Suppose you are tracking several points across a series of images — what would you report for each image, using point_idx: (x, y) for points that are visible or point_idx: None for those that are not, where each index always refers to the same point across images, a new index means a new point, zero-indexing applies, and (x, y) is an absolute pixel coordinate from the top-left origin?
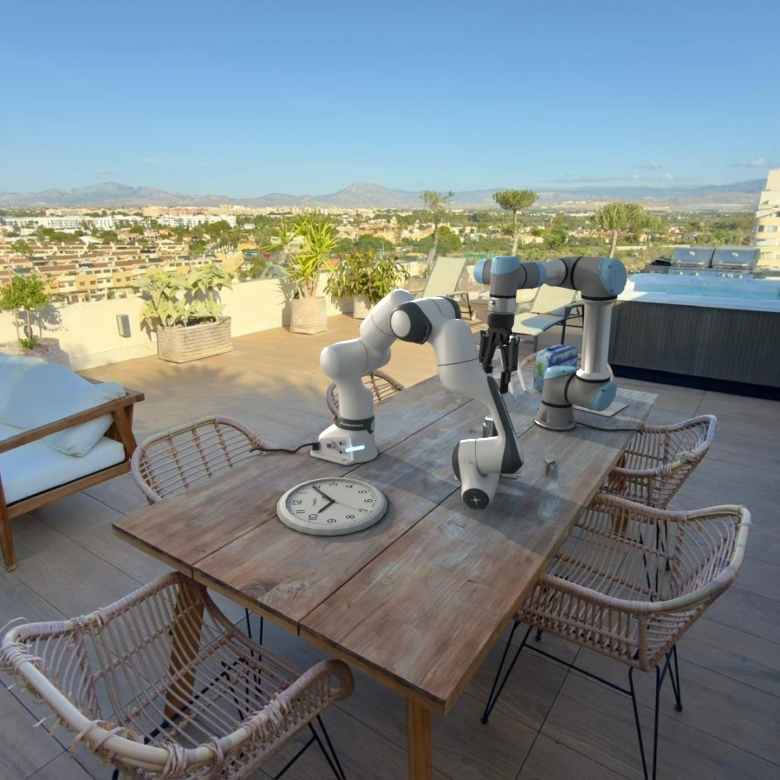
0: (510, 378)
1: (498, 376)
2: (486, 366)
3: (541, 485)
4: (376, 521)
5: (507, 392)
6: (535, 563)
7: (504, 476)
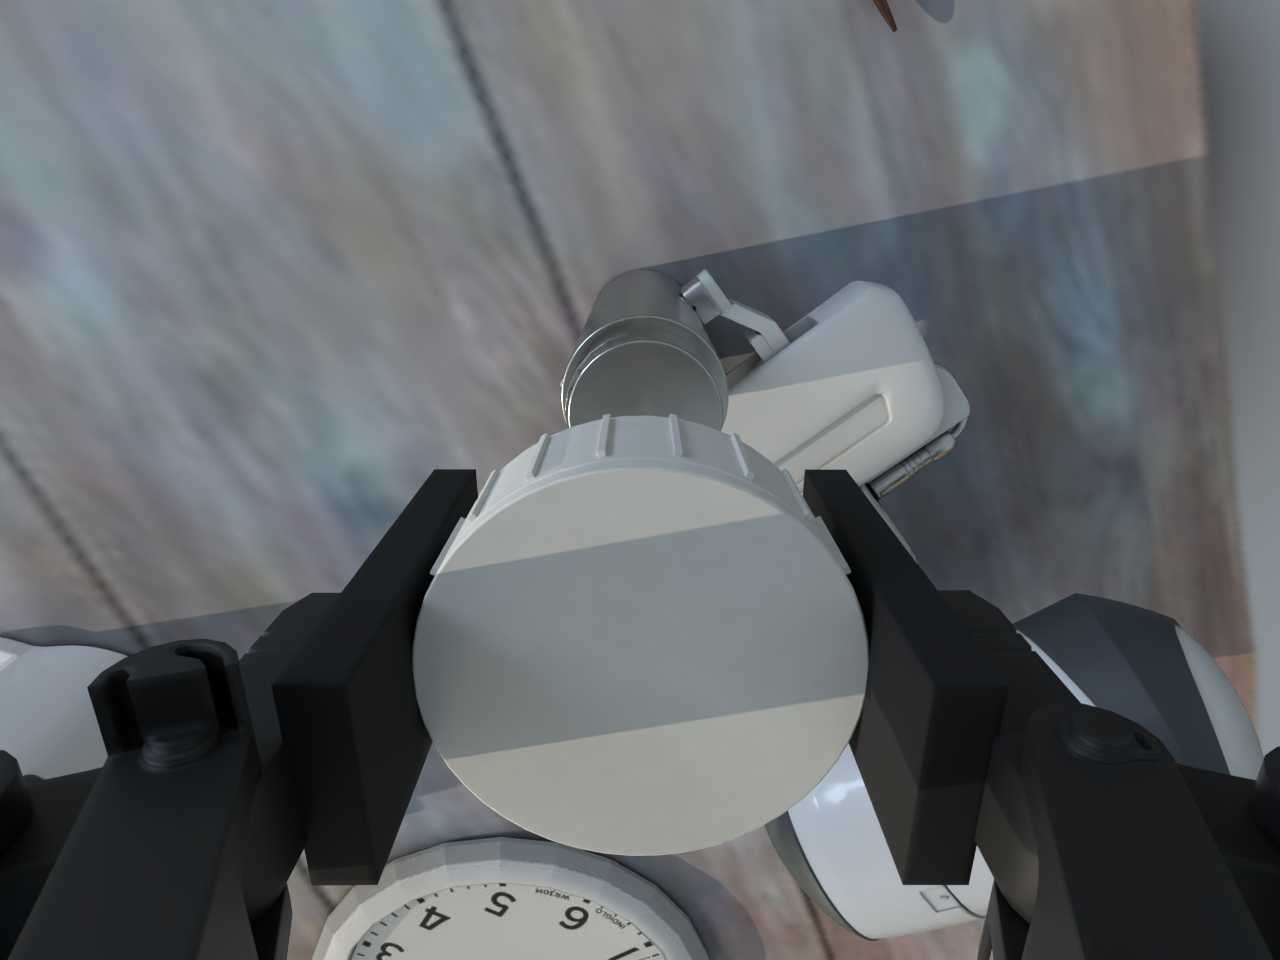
0: (1027, 648)
1: (718, 694)
2: (305, 832)
3: (931, 159)
4: (700, 942)
5: (846, 479)
6: (1248, 698)
7: (900, 484)
